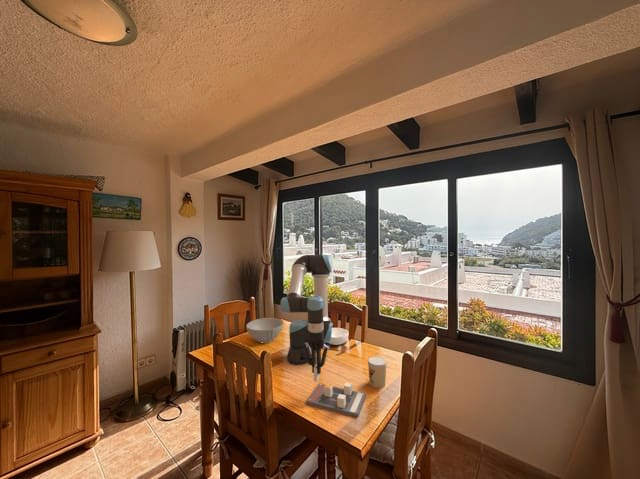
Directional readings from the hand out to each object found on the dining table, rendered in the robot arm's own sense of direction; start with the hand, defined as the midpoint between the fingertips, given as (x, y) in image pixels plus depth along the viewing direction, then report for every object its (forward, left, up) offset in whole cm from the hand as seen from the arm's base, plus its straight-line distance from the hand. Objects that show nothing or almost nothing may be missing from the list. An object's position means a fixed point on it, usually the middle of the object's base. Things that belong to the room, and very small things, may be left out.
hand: (316, 379), depth 124 cm
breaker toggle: (+6, 0, -6) cm, 9 cm away
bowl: (-12, +61, -8) cm, 63 cm away
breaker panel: (+10, 0, -8) cm, 13 cm away
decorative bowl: (-62, +47, -8) cm, 79 cm away
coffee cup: (+25, +20, -8) cm, 33 cm away
